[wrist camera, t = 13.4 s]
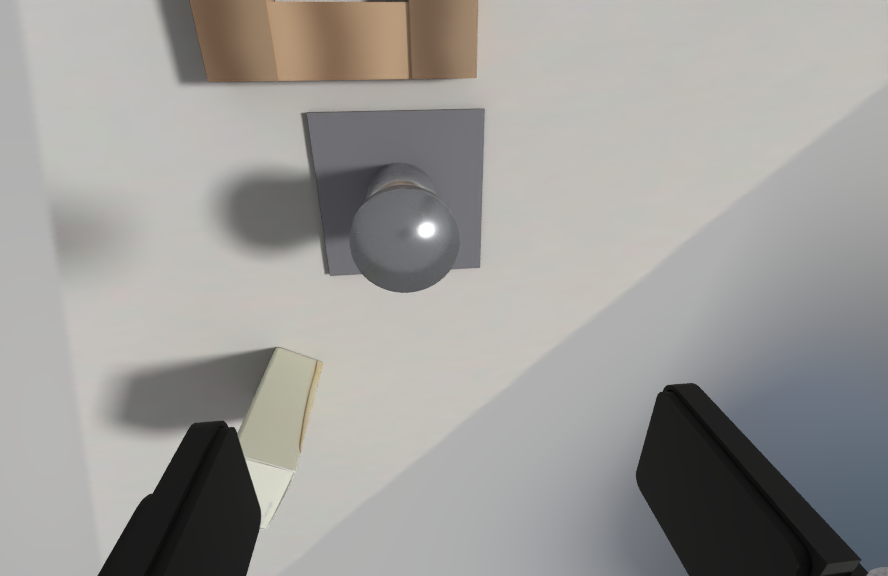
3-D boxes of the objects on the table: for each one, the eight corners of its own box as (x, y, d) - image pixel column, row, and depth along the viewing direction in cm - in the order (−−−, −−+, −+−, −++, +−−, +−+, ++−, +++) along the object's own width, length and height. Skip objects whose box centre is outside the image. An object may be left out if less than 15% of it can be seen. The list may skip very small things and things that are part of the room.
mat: (483, 108, 31) (484, 109, 30) (479, 265, 36) (479, 267, 36) (307, 112, 29) (306, 112, 29) (330, 273, 35) (329, 275, 35)
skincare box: (300, 410, 41) (267, 534, 30) (251, 396, 40) (200, 520, 29) (324, 359, 39) (299, 473, 28) (274, 342, 37) (227, 455, 27)
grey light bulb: (441, 154, 31) (459, 187, 23) (442, 233, 34) (459, 289, 26) (356, 156, 31) (343, 191, 22) (364, 237, 33) (355, 295, 25)
